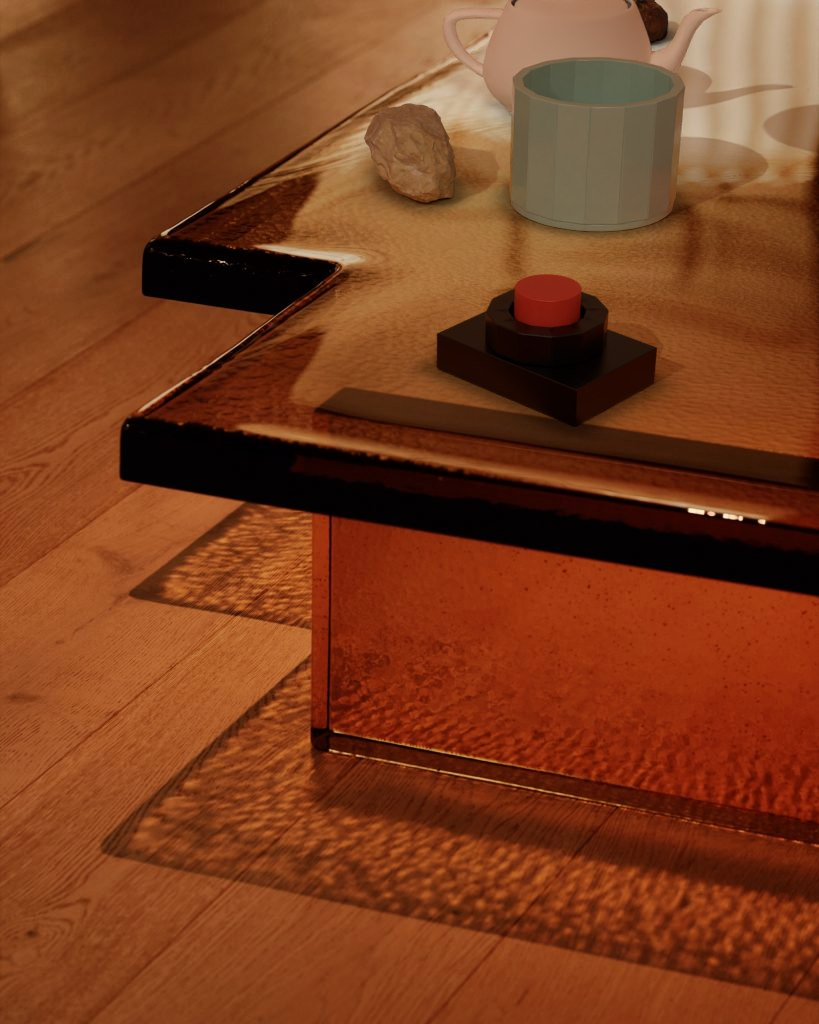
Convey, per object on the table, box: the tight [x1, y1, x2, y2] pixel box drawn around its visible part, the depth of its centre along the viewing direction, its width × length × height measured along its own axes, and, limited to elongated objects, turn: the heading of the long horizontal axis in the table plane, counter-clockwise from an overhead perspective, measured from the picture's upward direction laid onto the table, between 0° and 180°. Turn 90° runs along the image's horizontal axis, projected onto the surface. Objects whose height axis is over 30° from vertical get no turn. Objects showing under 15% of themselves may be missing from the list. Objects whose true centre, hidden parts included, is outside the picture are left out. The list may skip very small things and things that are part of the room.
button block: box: [436, 288, 658, 427], centre depth 88 cm, size 10×7×4 cm
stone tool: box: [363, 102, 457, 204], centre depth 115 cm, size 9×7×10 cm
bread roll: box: [633, 0, 669, 43], centre depth 148 cm, size 11×11×5 cm
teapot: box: [442, 0, 724, 113], centre depth 127 cm, size 22×14×11 cm, turn 78°
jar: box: [508, 57, 686, 233], centre depth 110 cm, size 11×11×8 cm
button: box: [514, 273, 583, 327], centre depth 87 cm, size 4×4×2 cm
